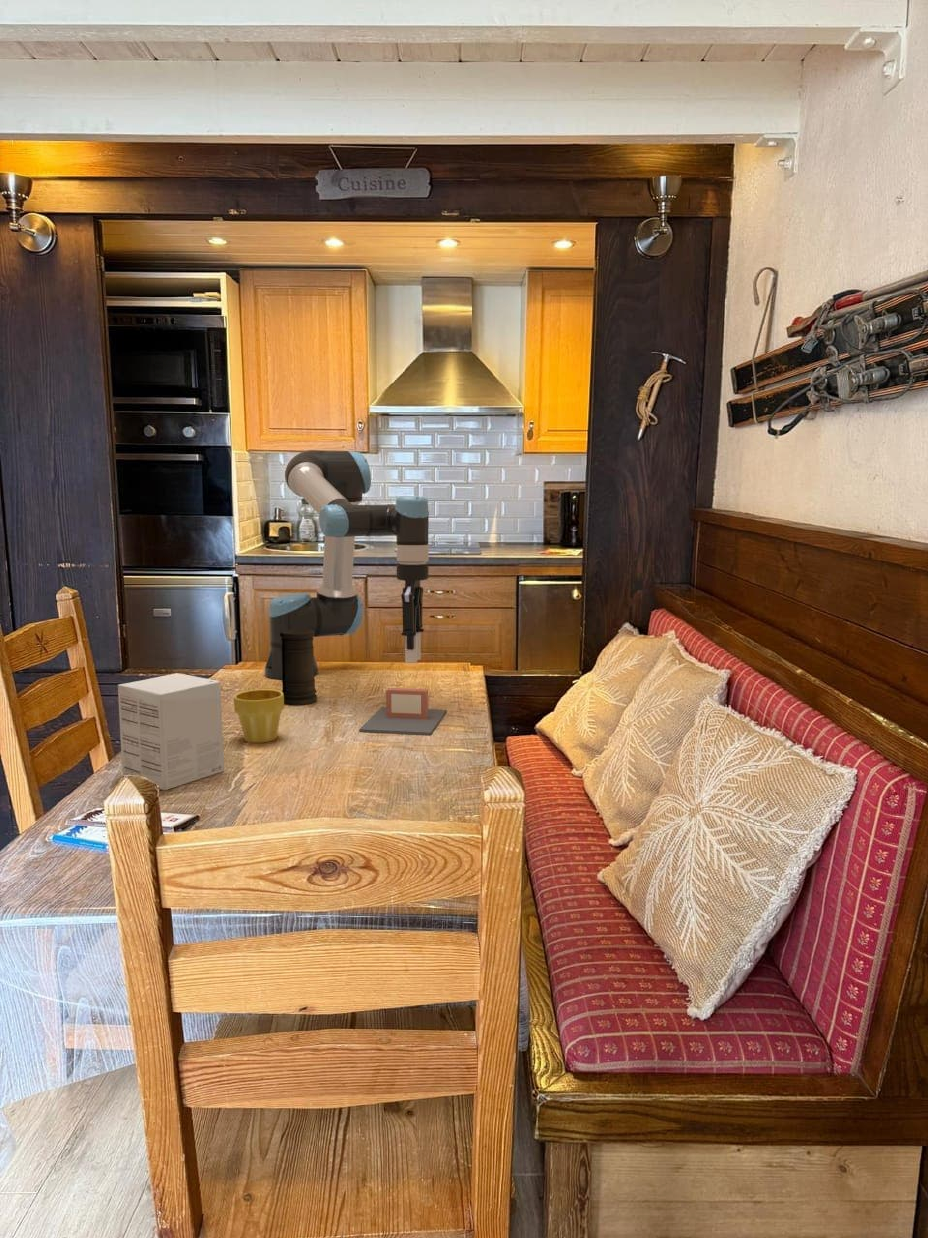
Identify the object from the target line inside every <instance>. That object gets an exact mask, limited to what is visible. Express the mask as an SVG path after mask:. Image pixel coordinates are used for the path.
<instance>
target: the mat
mask: <svg viewBox="0 0 928 1238" xmlns="http://www.w3.org/2000/svg"><path fill="white" fill-rule="evenodd" d="M447 712H448V711H447V709H440V708H439V709H434V708H428V718H427V719H412V718H391V717H386V706H381V707H380V708H379V709H378V710H377V712H375V713H374V714H373V715H372V716H371V717H370V718H368V720H367V721H366V722H365V723H364V724H363V725H362V726H361V727H360V728H359V733H375V734H376V733H377V734H397V735H398V734H399V735H417V736H431V735H432V734H433V733H434V731H435V730H436V728H437V727H438V725H439V724H440V723H441V721H442V719H443V718H444V717H445V715H446V714H447Z"/></svg>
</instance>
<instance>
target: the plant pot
mask: <svg viewBox="0 0 928 1238" xmlns="http://www.w3.org/2000/svg"><path fill="white" fill-rule="evenodd" d="M233 707H234V712H235V713H236V714H237V715H238V718H239V723H240V726H241V729H242V734H243V737H244V740H245V742H247V743H251V744H260V743H268V742H272V741H275V740H276V739H277V737H278V734H279V733H278V730H279V725H280V720H281V713H282V711H283V710H284V709H285V708H284V707H285V704H284V694H283V692H282V690H278V689H271V688H270V689H269V688H264V689H263V688H260V689H259V688H258V689H256V688H255V689H250V690H245V691H241V692H238V693H235V695H233Z"/></svg>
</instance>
